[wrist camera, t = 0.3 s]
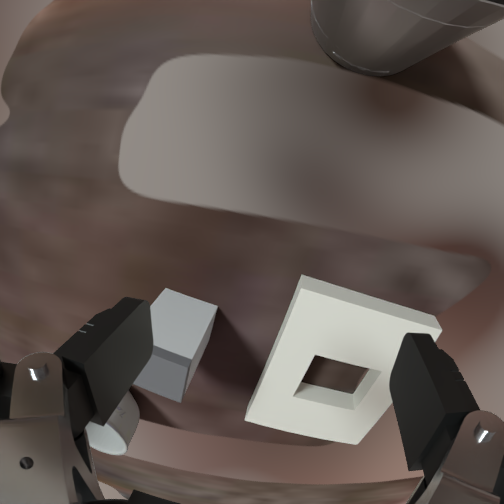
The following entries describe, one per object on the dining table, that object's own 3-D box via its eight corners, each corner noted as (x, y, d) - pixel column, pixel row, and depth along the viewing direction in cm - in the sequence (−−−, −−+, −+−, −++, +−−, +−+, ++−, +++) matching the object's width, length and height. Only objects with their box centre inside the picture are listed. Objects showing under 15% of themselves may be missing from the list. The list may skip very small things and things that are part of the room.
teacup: (147, 380, 36) (120, 426, 29) (150, 427, 41) (129, 468, 33) (59, 343, 37) (26, 378, 30) (72, 393, 42) (46, 426, 34)
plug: (165, 288, 31) (122, 341, 22) (217, 306, 30) (187, 367, 22) (160, 322, 32) (121, 378, 24) (208, 340, 32) (180, 402, 24)
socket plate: (301, 274, 28) (300, 287, 26) (434, 315, 27) (442, 330, 25) (248, 404, 35) (244, 420, 33) (355, 429, 34) (356, 444, 32)
